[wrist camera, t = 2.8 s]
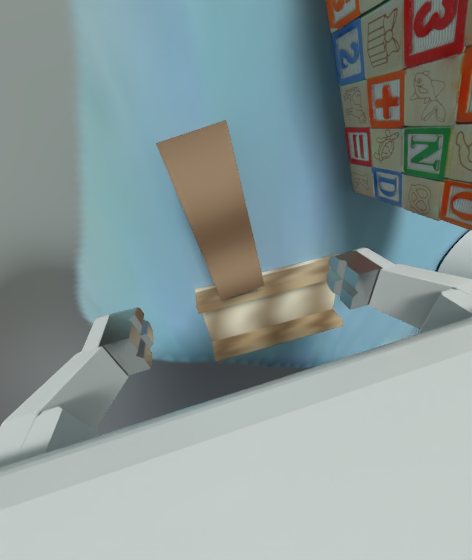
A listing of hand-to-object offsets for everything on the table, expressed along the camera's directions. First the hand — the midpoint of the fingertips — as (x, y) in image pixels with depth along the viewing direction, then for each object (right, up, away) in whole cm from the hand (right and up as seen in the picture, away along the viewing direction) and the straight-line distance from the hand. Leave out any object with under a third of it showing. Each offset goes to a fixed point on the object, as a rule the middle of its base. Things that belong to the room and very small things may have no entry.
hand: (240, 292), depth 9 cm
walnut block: (-2, +7, +11) cm, 13 cm away
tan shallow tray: (+5, -2, +19) cm, 20 cm away
